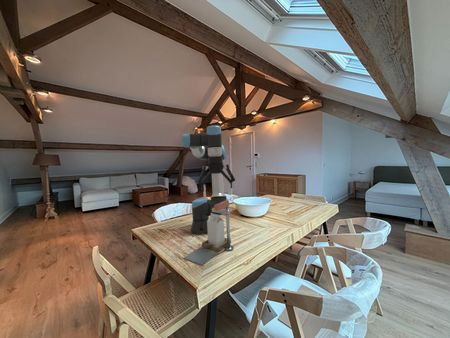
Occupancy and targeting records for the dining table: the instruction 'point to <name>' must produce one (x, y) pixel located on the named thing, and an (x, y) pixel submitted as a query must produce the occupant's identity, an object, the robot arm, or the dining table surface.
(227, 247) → the base
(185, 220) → the dining table surface
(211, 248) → the frame
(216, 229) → the milk carton
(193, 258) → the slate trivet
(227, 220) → the signpost
